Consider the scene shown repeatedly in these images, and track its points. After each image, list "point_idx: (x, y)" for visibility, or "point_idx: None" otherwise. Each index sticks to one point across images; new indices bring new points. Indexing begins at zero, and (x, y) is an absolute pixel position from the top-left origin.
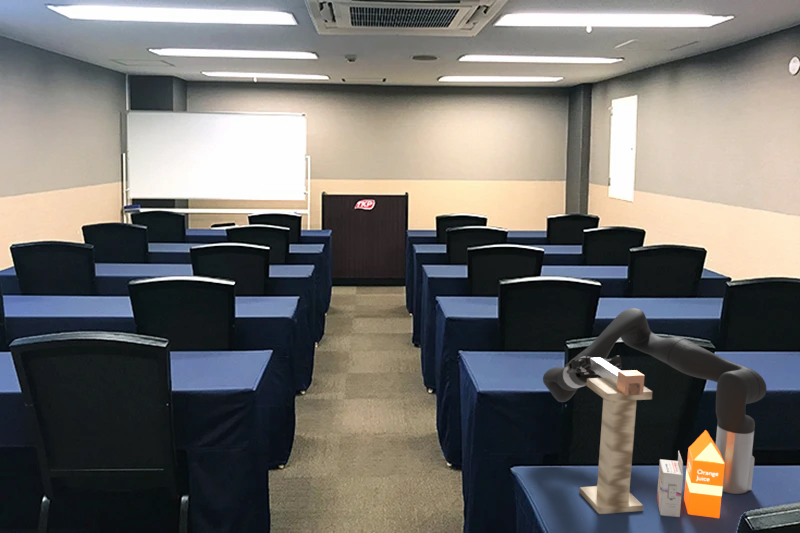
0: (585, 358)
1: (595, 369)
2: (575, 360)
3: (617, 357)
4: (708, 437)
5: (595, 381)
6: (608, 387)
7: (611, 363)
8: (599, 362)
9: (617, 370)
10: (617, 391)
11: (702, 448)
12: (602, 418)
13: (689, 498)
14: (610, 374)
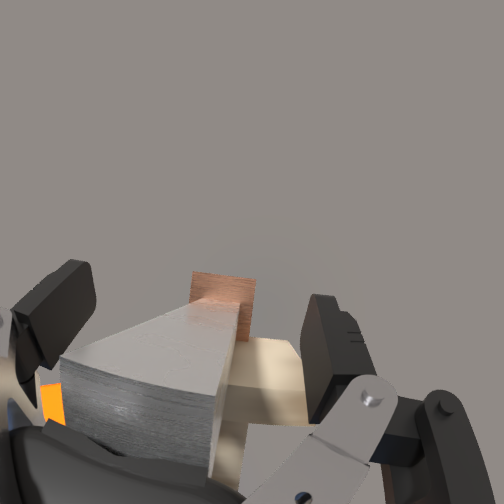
0: (338, 320)
1: (221, 410)
2: (424, 401)
3: (89, 271)
4: (41, 387)
5: (291, 373)
6: (264, 350)
7: (25, 361)
8: (210, 336)
9: (198, 307)
10: (251, 339)
11: (62, 405)
12: (239, 477)
13: None
14: (236, 324)
